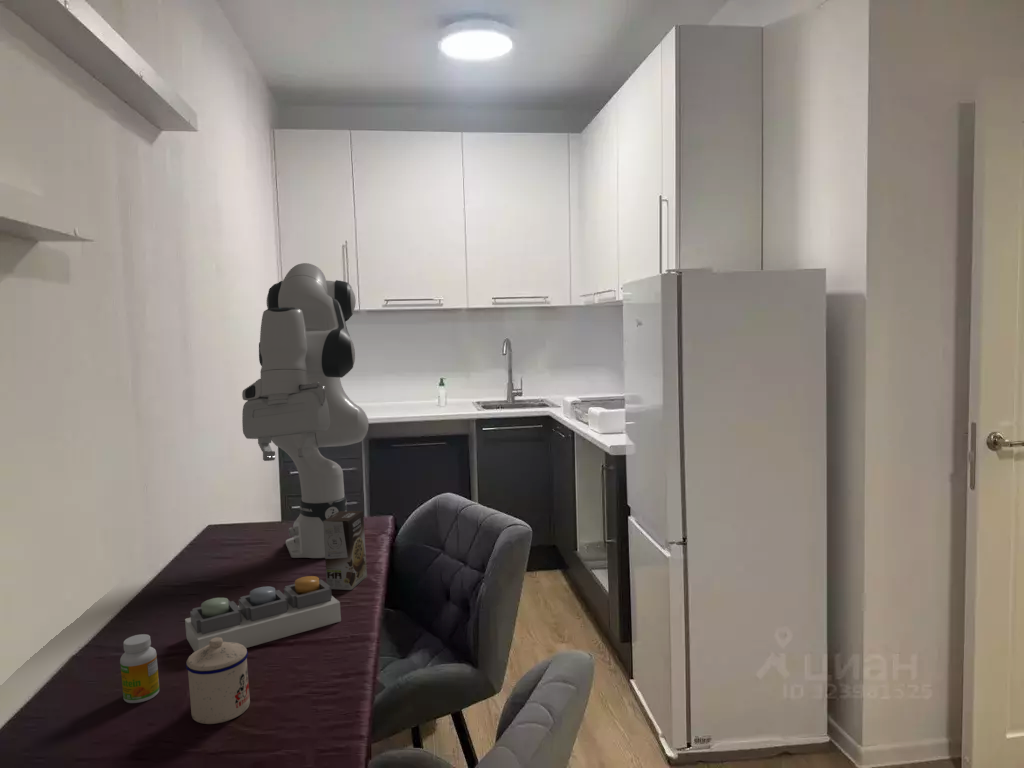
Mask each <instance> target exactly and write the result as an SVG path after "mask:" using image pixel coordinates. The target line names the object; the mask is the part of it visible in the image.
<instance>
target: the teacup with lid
mask: <svg viewBox="0 0 1024 768" xmlns="http://www.w3.org/2000/svg"><path fill="white" fill-rule="evenodd" d="M248 656H249V652H248V649H247V648H245V647H244V646H243V645H241V644H239V643H233V642H223V639H222V638H220V637H216V638H213V639H211V640H210V641H209V645H207V646H205V647H203V648H201V649H199V650H197V651H195V652H194V651H193V652H192V654H190V655H189V656H188V658H187V660H186V663H185V669H186V671H187V675H188V687H189V688H188V689H189V698H190V710H191V711H190V712H191V713H190V714H191V717H192V720H194V721H195V722H196V723H198V724H199V723H200V724H204V725H215V724H222V723H225V722H229V721H231V720H234V719H235V718H237V717H239V716H241V715H242V714H244V713H245V712H246V711H247V710H248V708H249V706H250V703H251V700H250V699H251V698H250V684H249V682H250V681H249V671H248V670H249V669H248Z"/></svg>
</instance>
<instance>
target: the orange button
mask: <svg viewBox="0 0 1024 768" xmlns="http://www.w3.org/2000/svg"><path fill="white" fill-rule="evenodd" d="M319 580H320V578H319V577H318V576H316V575H315V576H314V575H306V576H301V577H298V578H297V579H295V580H294V584H295V592H296V593H298V594H305V593H309V592H313V591H317V590H319Z"/></svg>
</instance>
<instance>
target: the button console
mask: <svg viewBox="0 0 1024 768" xmlns="http://www.w3.org/2000/svg"><path fill="white" fill-rule="evenodd" d="M275 594H276V600H275V601H273V602H269V603H265V604H261V605H252V604H251V603H250V594H247V595H243V596H240V597H239V599H238V605H237V603H236V602H235V601H234V600H231V601H230V600H229V599H228V604H229V612H228V613H225V614H221V615H217V616H213V617H209V618H206V617H203V616H202V608H201V606H198V607H194V608H191V610H190V611H189V614H190V617H187V618H185V619H184V623H185V624H184V625H185V634H186V635H185V636H186V640H187V642H188V643H189V645H190V647H191V649H192V650H193V653H194V652H195V651H197V650H199V649H201V648H203V647H205V646H207V645H209V641H210V640H211V639H213V638H216V637H220V638H222V639H223V642H233V643H239V644H241V645H243V646H244V647H245V648H246V649H247V648H250V647H254V646H258V645H261V644H265V643H268V642H272V641H276V640H280V639H282V638H283V639H284V638H286V637H290V636H293V635H296V634H297V635H298V634H300V633H304V632H308V631H311V630H315V629H319V628H322V627H325V626H329V625H332V624H335V623H340V622H341V621H342V617H341V616H342V615H341V614H342V613H341V601H339V599H337V598H335V597H334V596H333V595H332V589H331V586H329V585H328V584H327V582H326V581H324V580H323V579H319V590H317V591H313V592H309V593H305V594H298V593H296V592H295V583H293V584H289V585H284V588H283V592H282V591H281V590H280V589H275Z"/></svg>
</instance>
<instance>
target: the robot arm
mask: <svg viewBox="0 0 1024 768" xmlns="http://www.w3.org/2000/svg"><path fill="white" fill-rule="evenodd" d="M354 292H355V291H354V290H353V288H352V285H350V283H349V282H346V281H344V280H343V281H342V280H337V279H336V280H327V279H326V276H325V274H324V272H323V270H321V268H319V267H318V266H316V265H314V264H312V263H307V262H305V263H304V262H302V263H299V264H296V265H294V266H293V267H292V268H290V270H289V271H288V272H287V273H286V275H285V276H284V278H283V280H280V281H278V282H277V283H274V284H273V285H272V286H271V287H270V288H269V289H268V293H267V296H266V309H265V310H263V312H262V316H261V323H260V331H259V333H260V335H259V343H258V362H259V364H260V366H261V368H260V378H258V379H257V380H256V381H255V382H253V383H252V384H250V385H249V386H247V387H246V388H244V389H243V390H242V392H241V395H242V396H241V398H242V400H243V401H245V402H244V403H243V407H242V423H241V424H242V426H241V427H242V433H243V435H244V437H245V438H246V439H247V440H250V439H251V440H257V443H258V446H259V448H260V450H261V452H262V460H263V461H264V462H272V461H275V460H276V452H275V450H274V451H273V450H272V447H271V444H272V443H273V444H274V446H276V447H278V448H280V450H282V451H283V452H285V454H287V455H288V456H289V457H290V459H291V460H292V461H293V464H294V466H295V467H296V470H297V473H298V479H299V483H300V485H299V486H300V491H301V492H300V493H301V499H300V503H299V516H298V517H297V518H296V519H295V520H294V522H293V526H292V527H289V528H288V535H289V537H290V538H287V539H285V546H286V547H287V548H286V549H287V550H288V553H289V555H290V557H291V558H293V559H299V558H300V559H302V558H307V559H308V558H309V559H325V544H324V525H323V521H324V520H326V519H327V518H329V517H331V516H332V515H334V514H336V513H337V512H339V511H348V510H347V509H348V500H347V496H346V495H345V484H344V481H345V480H344V471H343V468H342V467H341V465H340V464H338V463H337V462H336V461H333V460H332V459H329V458H327V457H325V456H323V455H322V454H321V451H320V450H319V448H327V447H328V448H329V447H344V446H349V445H354V444H357V443H361V442H362V441H363V440H364V439H365V437H366V436H367V435H368V431H369V427H370V426H369V419H368V416H367V413H366V411H364V409H362V407H361V406H359V405H357V404H356V403H355V402H354V401H353V400H351V398H350V397H349V396H348V395H347V393H346V392H345V390H344V387H343V384H342V382H341V378H344V377H345V376H346V375H347V374H349V372H351V370H352V369H353V368H354V366H355V361H356V351H355V345H354V342H353V340H352V339H351V338H352V337H351V336H350V333H349V331H348V327H347V323H346V322H347V321H348V320H350V319H351V317H352V316H353V314H354V311H355V308H356V305H357V304H356V301H357V300H356V295H355V293H354Z"/></svg>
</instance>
